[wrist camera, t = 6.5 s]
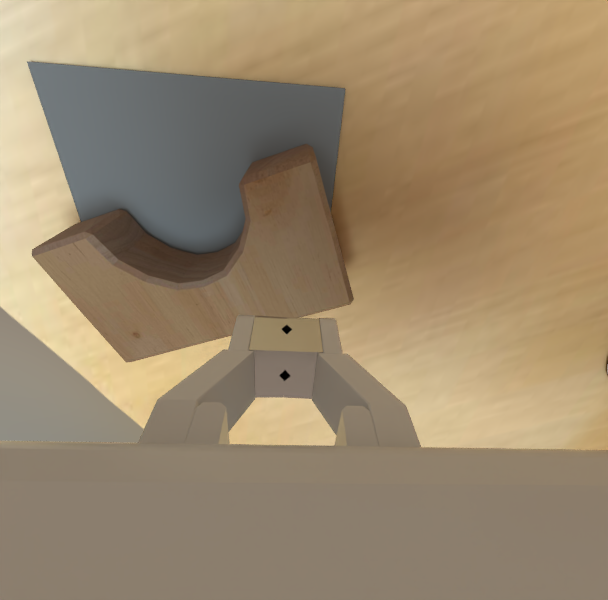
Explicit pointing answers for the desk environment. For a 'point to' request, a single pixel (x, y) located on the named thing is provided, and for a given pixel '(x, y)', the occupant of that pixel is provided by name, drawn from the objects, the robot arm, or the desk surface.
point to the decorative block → (206, 266)
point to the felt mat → (179, 144)
